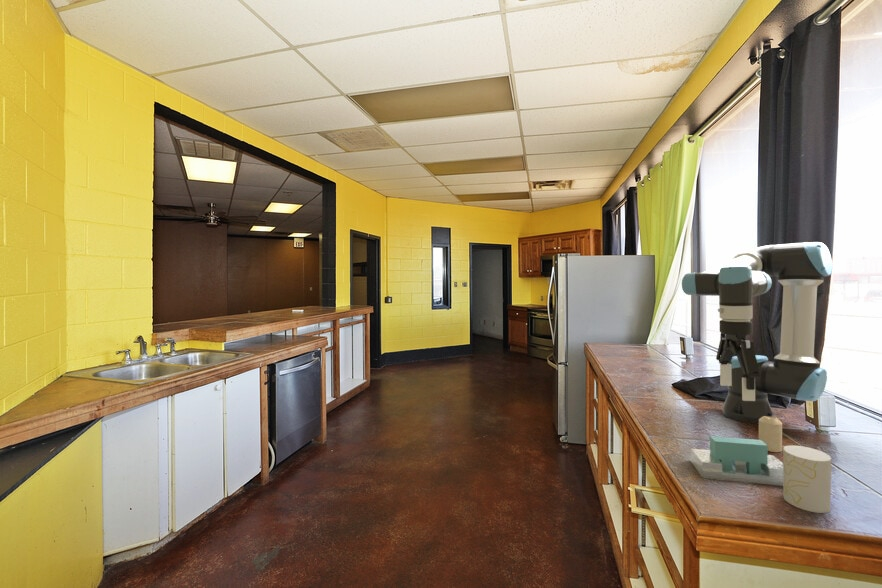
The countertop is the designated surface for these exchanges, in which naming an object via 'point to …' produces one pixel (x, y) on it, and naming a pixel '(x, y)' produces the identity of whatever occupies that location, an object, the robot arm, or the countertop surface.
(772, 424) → the candle
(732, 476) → the white block holder tray
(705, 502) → the countertop surface
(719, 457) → the teal notched block
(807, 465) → the cup
